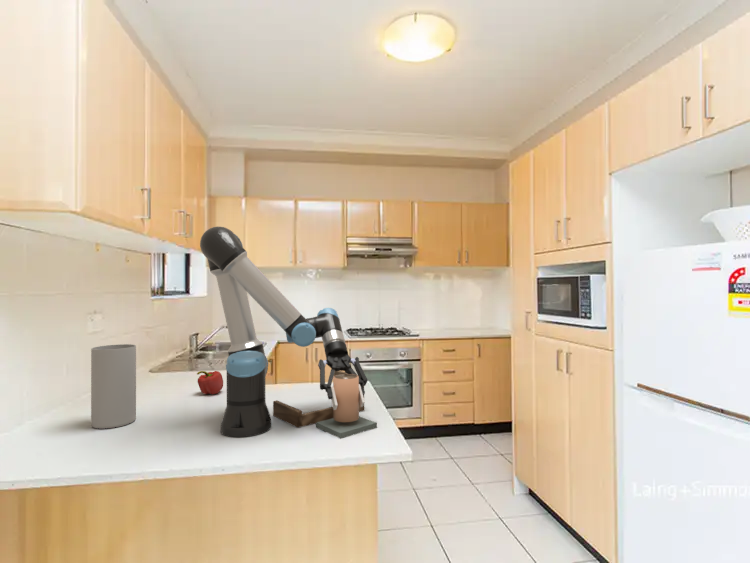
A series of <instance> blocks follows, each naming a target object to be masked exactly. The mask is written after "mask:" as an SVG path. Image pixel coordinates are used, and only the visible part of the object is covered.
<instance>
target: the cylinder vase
mask: <svg viewBox="0 0 750 563" xmlns="http://www.w3.org/2000/svg"><path fill="white" fill-rule="evenodd" d="M90 351H91V352H90V353H91V354H90V359H91V360H90V361H91V362H90V365H91V366H90V367H91V368H90V369H91V370H90V372H91V373H90V377H91V378H90V386H91V387H90V426H91V427H92V428H94V429H98V428H99V429H101V430H102V429H103V430H107V428H108V429H113V428H114V429H115V427H116V428H119V427H124V426H127V425H130V424H132V423H134V422H135V421H136V419H137V344H131V343H130V344H129V343H128V344H127V343H126V344H125V343H124V344H123V343H122V344H109V345H98V346H95V347H91V348H90ZM129 423H130V424H129ZM105 428H106V429H105ZM99 429H98V430H99Z"/></svg>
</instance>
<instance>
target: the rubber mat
mask: <svg viewBox="0 0 750 563" xmlns="http://www.w3.org/2000/svg"><path fill="white" fill-rule="evenodd" d="M315 428H317V429H319V430H321V431H323V432H326V433H328V434H330V435H333V436H335V437H337V438H339V439H343V438H347V437H350V436H354V435H356V434H360V433H363V431H364V432H366V431H370V430H373V429H376V428H378V422H376V421H373V420H370V419H367V418H365V417H363V416H360V415H359V419H358V420H356V421H353V422H338V421H335V420H334V419H333V418H332V419H328V420H324V421H320V422H316V423H315ZM353 434H354V435H353Z"/></svg>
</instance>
